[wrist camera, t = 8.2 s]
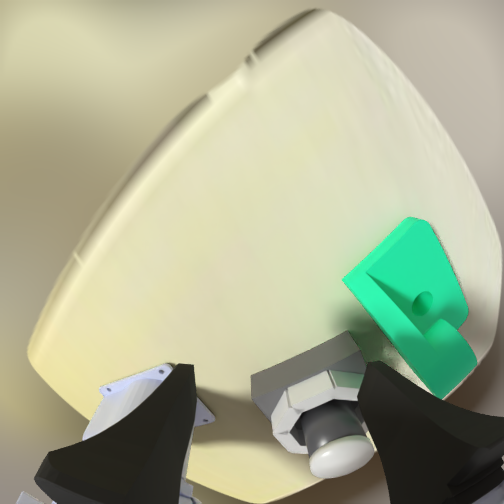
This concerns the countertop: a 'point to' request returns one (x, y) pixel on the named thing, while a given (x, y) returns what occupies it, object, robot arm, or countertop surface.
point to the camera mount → (417, 304)
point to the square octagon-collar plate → (308, 387)
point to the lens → (335, 439)
